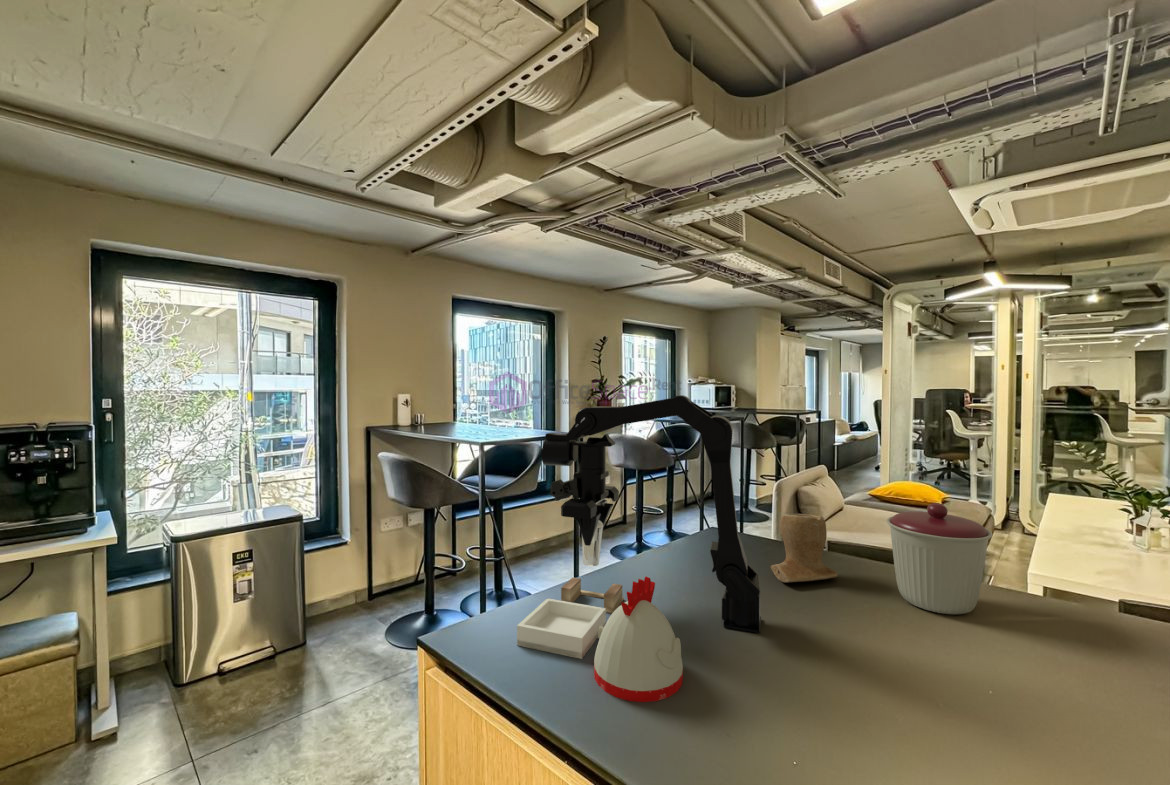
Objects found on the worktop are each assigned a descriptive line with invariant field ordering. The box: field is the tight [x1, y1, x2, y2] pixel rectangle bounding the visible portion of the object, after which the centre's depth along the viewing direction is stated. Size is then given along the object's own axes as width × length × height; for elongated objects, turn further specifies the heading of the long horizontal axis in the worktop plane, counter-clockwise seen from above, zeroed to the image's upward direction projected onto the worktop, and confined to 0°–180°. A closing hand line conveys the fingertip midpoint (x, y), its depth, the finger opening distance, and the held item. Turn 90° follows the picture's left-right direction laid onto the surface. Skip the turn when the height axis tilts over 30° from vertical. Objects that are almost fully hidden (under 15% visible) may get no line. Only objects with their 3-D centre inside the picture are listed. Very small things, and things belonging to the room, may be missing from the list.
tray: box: [516, 598, 607, 660], centre depth 93 cm, size 12×12×4 cm
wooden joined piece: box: [560, 577, 625, 614], centre depth 107 cm, size 11×7×4 cm, turn 69°
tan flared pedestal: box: [770, 513, 839, 583], centre depth 122 cm, size 15×12×15 cm
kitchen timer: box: [593, 576, 684, 703], centre depth 81 cm, size 14×14×15 cm
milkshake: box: [581, 521, 604, 567], centre depth 106 cm, size 5×5×10 cm
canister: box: [886, 502, 993, 615], centre depth 107 cm, size 18×18×21 cm
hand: (591, 541), depth 107 cm, fingers closed on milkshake, 4 cm apart
